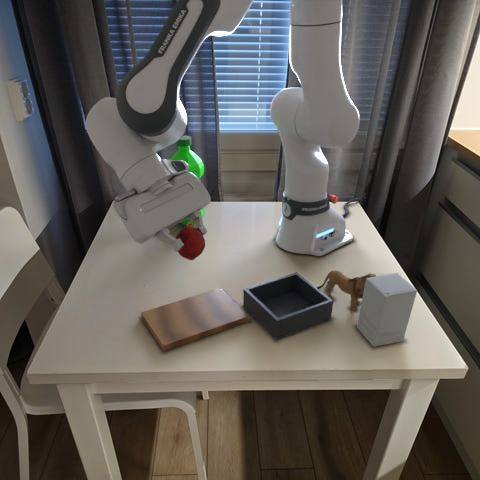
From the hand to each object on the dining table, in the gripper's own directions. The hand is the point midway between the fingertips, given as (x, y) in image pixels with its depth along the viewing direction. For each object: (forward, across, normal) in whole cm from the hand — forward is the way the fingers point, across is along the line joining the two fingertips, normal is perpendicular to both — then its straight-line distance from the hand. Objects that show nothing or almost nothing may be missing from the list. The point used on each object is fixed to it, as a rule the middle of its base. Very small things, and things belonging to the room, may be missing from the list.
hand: (192, 241), depth 87 cm
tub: (+24, +13, +3) cm, 28 cm away
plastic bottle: (-10, +38, +37) cm, 54 cm away
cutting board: (+13, 0, +14) cm, 19 cm away
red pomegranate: (+3, 0, +4) cm, 4 cm away
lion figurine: (+31, +26, -3) cm, 40 cm away
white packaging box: (+38, +18, -11) cm, 44 cm away
